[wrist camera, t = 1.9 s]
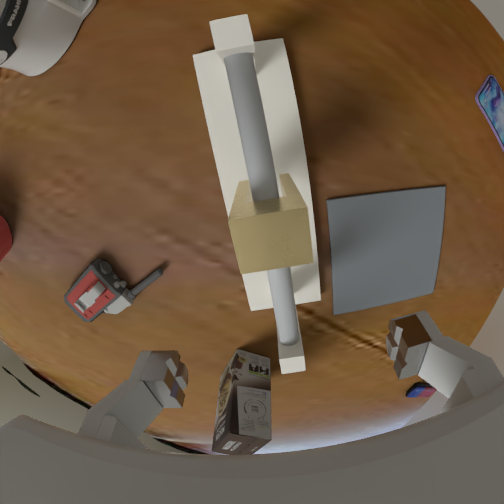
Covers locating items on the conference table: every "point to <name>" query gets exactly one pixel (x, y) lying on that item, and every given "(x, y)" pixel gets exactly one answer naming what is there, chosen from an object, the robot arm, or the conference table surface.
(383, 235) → the rubber mat
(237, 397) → the coffee box
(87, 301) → the walkie-talkie
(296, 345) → the rod stand
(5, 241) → the flower pot
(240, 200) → the c-link
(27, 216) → the conference table surface
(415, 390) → the eraser
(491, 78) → the smartphone
